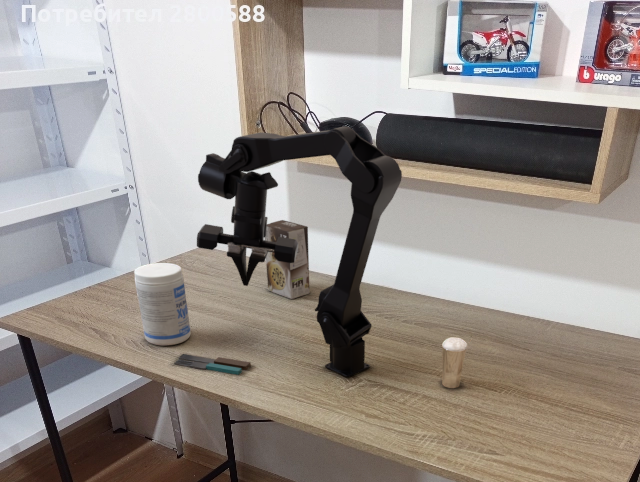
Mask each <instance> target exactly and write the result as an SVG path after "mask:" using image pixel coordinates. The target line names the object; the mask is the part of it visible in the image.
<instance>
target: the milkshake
mask: <svg viewBox="0 0 640 482" xmlns="http://www.w3.org/2000/svg"><path fill="white" fill-rule="evenodd" d="M471 341H472V339H470V340H469V342H468V343H467V342H466V341H465V340H464V339H463V338H461V337H455V336H454V337H453V336H452V337H447V338H446V339H445V340H444V341H443V342H442V344H441V347H442V349H441V351H442V352H441V353H442V366H441V367H442V368H441V369H442V372H441V376H442V379H441V384H442V386H443V387H445V388H447V389H456V388H459V386H460V384H461V378H462V374H463V367H464V363H465V358H466V355H467V351H468V346H469V345H470V343H471Z"/></svg>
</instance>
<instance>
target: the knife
mask: <svg viewBox="0 0 640 482" xmlns="http://www.w3.org/2000/svg"><path fill="white" fill-rule="evenodd" d="M179 359H180V360H186V361H192V362H194V361H195V362H201V363H207V364H209V363H213V364H219V365H225V366H231V367H237V368H242V371H247V370H249V369H250V368H251V367H252V365H251V361H246V360H240V359H239V360H238V359H233V358H228V357H220V356H218V357H217V358H210V357H203V356H197V355H192V354H186V353H183V354H181V355H179V356H178V360H179Z"/></svg>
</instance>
